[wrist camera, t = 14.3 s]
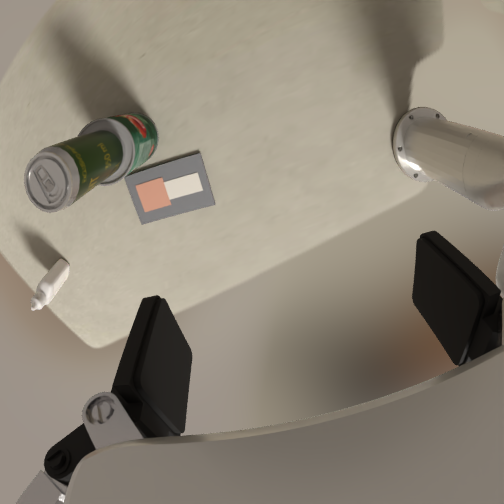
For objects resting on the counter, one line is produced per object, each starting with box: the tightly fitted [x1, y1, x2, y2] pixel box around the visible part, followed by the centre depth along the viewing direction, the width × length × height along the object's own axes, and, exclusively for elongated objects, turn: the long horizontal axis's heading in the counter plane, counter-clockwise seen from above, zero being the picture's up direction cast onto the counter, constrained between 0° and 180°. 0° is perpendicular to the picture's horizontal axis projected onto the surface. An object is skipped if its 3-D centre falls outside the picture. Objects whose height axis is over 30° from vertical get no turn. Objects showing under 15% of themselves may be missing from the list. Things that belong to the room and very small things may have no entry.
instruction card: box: [124, 153, 215, 225], centre depth 42 cm, size 12×8×1 cm, turn 103°
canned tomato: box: [78, 113, 159, 186], centre depth 34 cm, size 8×8×11 cm
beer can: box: [24, 130, 123, 213], centre depth 24 cm, size 5×5×12 cm
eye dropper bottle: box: [31, 259, 70, 311], centre depth 43 cm, size 4×6×12 cm
